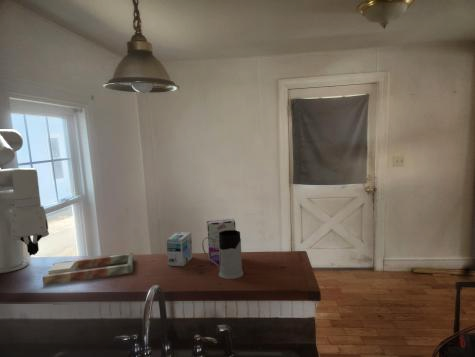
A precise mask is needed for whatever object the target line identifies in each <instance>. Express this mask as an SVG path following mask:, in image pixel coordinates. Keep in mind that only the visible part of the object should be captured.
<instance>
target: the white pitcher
mask: <svg viewBox="0 0 475 357" xmlns="http://www.w3.org/2000/svg"><path fill="white" fill-rule="evenodd" d="M208 238H210V239H212V240H213V242H214V247H215V241H214V239H213V238H211V237H205V238H203V240H202V242H201V244H202V251H203V253H204V255H205V257H206V258H207V259H208V261H209V260H211V259H210V258H209V255H208V254H207V252H206V251H205V248H204V247H205V246H204V241H205V240H208ZM219 245H220V247H219V248H216V247H215V248H216V249H219V257H220V263H215V262H214V261H213V260H211V261H212V262H213V263H214V265H215V266H217V267H218V270H219V272H218V276H219V277H220V278H222V279H226V280H233V279H239V278H241V277H242V276H243V275H244V272H243V263H242V259H243V258H242V238H241V232H240V231H239V230H226V231H222V232H220V233H219Z"/></svg>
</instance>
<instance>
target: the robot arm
mask: <svg viewBox="0 0 475 357" xmlns="http://www.w3.org/2000/svg"><path fill="white" fill-rule="evenodd" d="M23 145H24V141H23V136H22V135H21V133H20V132H18V130H16V129H0V274H5V273H10V272H15V271H18V270H22V269H24V268H26V267H28V266H29V264H30V261H29V260H28V259H27V258H26V259H25V254H24V245H26V249H27V253H28V254H29V256H32V255H33V256H35V255H36V254H38V252H39V250H40V249H39V242H40V240H41V239H42V238H45V237H48V236H49V234H50V232H49V224H48V217H47V214H46V211H45V208H44V205H42V204H41V195H40V188H39V187H40V185H39V177H38V170H36V169H35V168H33V167H20V168H19V167H18V168H17V167H16V168H15V167H14V168H2V167H4V166H7V165H8V164H10V163H12V162H13V161H14V159H15V156H16V154H15V152H17V151H19V150H21V149H22V147H23ZM31 237H32V238H31ZM23 244H24V245H23Z"/></svg>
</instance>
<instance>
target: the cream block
mask: <svg viewBox="0 0 475 357" xmlns="http://www.w3.org/2000/svg"><path fill="white" fill-rule="evenodd" d="M66 262H67V261H66ZM57 263H58V264H54V263H53V264H54V265H53V264H52V266H51V267H50V268H49V269H48V271H47V273H48V274H47V275H51V274H58V273H66V272H73V271H77V269H76V266H75V262H67V263H59V262H57Z"/></svg>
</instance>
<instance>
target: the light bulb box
mask: <svg viewBox="0 0 475 357" xmlns="http://www.w3.org/2000/svg"><path fill="white" fill-rule="evenodd" d="M192 238H193V237H192V232H186V231H185V232H181V231H180V232H179V231H178V232H177V231H176V232H175V233H173V234H172V235H171V236H169V237H168V238H166V247H167V248H166V249H167V250H166V251H167V266H170V267H171V266H173V267H185V265H186V264H188V262H190V261H191V260H192V259H193V241H192Z"/></svg>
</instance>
